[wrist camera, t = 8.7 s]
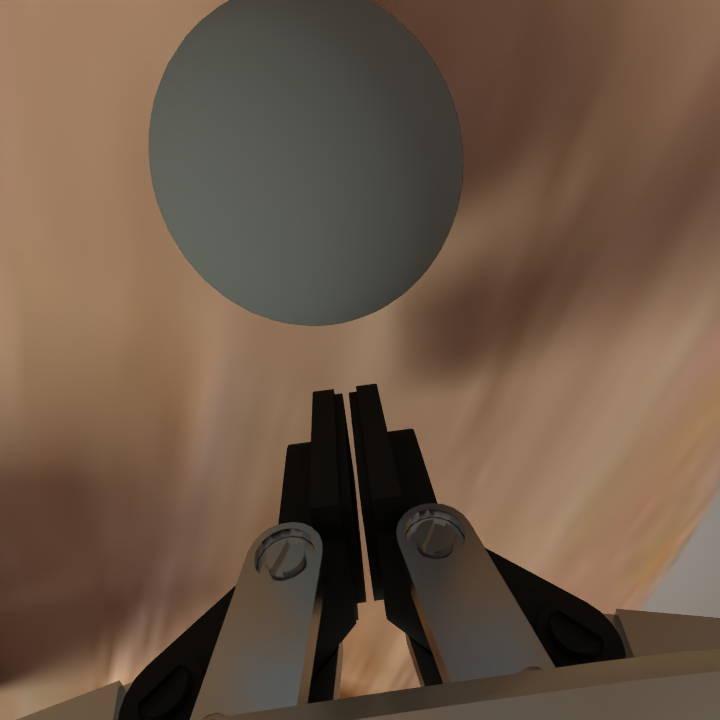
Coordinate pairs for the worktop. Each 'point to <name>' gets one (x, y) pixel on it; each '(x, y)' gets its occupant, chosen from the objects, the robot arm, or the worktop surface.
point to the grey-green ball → (306, 157)
